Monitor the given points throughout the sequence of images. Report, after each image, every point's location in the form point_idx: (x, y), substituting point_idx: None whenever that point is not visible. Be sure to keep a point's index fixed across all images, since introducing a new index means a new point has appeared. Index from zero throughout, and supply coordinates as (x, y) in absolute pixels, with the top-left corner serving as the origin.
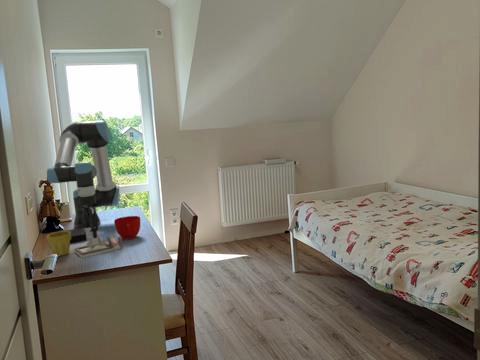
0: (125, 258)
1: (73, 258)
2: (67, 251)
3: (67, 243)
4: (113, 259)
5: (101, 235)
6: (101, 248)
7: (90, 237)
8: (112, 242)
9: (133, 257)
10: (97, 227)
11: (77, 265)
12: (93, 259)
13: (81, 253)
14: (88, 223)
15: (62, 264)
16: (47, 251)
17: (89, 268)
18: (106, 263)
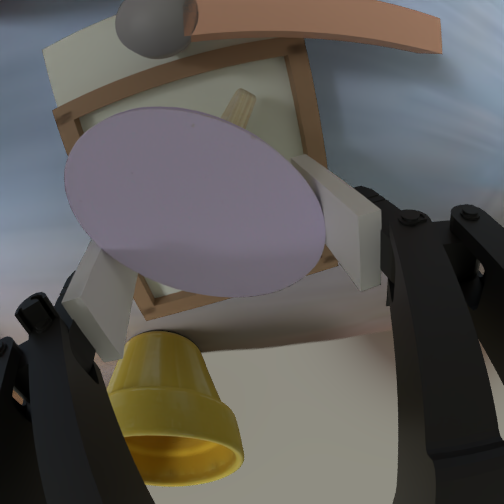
0: (489, 47)
1: (306, 296)
2: (185, 345)
3: (197, 383)
4: (474, 97)
5: (227, 121)
6: None
7: (318, 256)
8: (407, 46)
9: (493, 15)
10: (492, 228)
11: None
12: (411, 191)
13: (327, 268)
14: (87, 382)
15: (369, 326)
16: None
17: (496, 216)
18: (497, 144)
